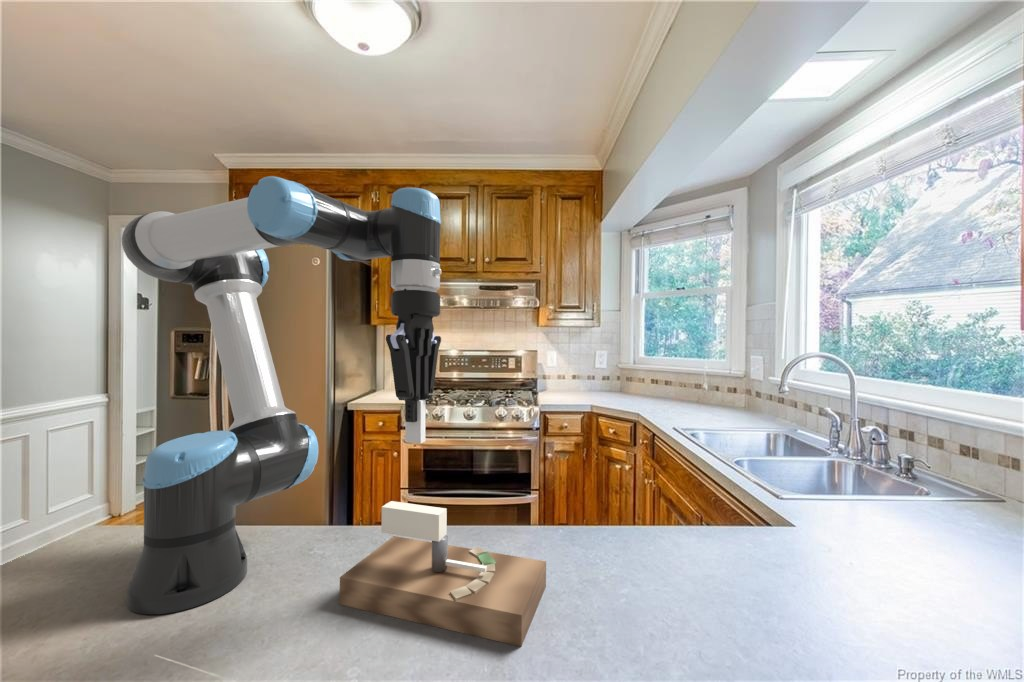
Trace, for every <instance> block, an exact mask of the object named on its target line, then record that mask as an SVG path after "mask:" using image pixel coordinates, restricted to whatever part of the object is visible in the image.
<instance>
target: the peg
mask: <svg viewBox="0 0 1024 682" xmlns="http://www.w3.org/2000/svg"><path fill="white" fill-rule="evenodd" d="M447 510H448V509H447V508H446V507H439V506H438V507H436V506H431V505H430V506H429V505H422V504H415V503H410V502H409V503H408V502H402V501H401V502H400V501H394V500H391V501H389V502H387V503H385V504H384V505H382V506H381V533H384V534H390V535H395V536H400V537H406V538H407V537H408V538H412V539H414V538H415V539H418V540H424V541H425V540H427V541H430V542H432V570H433V571H436V572H441V571H444V570H446V569H447V566H452V567H457V568H463V569H468V570H474V571H479V572H486V571H487V566H483V565H478V564H472V563H466V562H461V561H455V560H449V559H448V545H449V543H448V542H449V541H448V539H449V537H448V535H447V533H448V532H447V530H448V529H447V527H448V526H447V521H448V520H447V518H448V517H447V515H448V514H447V513H448V511H447Z"/></svg>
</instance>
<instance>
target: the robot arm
mask: <svg viewBox="0 0 1024 682" xmlns="http://www.w3.org/2000/svg"><path fill="white" fill-rule="evenodd" d="M440 204H441V203H440V199H439V198H438V196H437V195H436V194H435V193H433V192H431V191H430V190H428V189H424V188H418V187H401V188H398V189H397V190H395V191H394V192H393V193H392V195H391V202H390V206H391V207H389V208H384V209H381V210H380V209H379V210H363V209H361V208H359V207H356V206H354V205H351V204H348V203H346V202H343V201H341V200H338V199H336V198H333V197H330V196H328V195H326V194H324V193H321V192H319V191H317V190H314V189H312V188H310V187H307V186H305V185H303V184H302V183H299V182H296V181H293V180H288V179H286V178H282V177H279V176H275V175H270V176H265V177H263V178H260V179H259V180H258V183H257V184H254V185H253V186H252V188H250V192H249V195H248V197H244V198H239V199H235V200H231V201H226V202H221V203H218V204H214V205H210V206H205V207H200V208H197V209H192V210H189V211H188V210H187V211H184V212H183V211H182V212H180V213H173V212H170V211H163V210H161V211H153V212H149V213H145V214H142V215H139V216H137V217H135V218H134V219H132V220H130V222H129V223H128V224H127V225H125V227H124V230H123V231H122V236H121V246H122V250H123V252H124V254H125V257H126V258H127V259H128V260H129V261H130V262H131V263H132V265H133V266H134V267H135V268H137V269H138V270H140V271H141V272H143V273H144V274H146V275H148V276H150V277H152V278H155V279H158V280H161V281H165V282H171V283H178V284H183V285H190V286H191V287H192V291H193V294H194V298H195V300H196V301H197V302H199V303H202V304H203V305H205V306H206V309H207V313H208V318H209V320H210V325H211V329H212V333H213V337H214V342H215V345H216V350H217V353H218V357H219V362H220V367H221V371H222V374H223V379H224V382H225V388H226V391H227V395H228V399H229V403H230V407H231V412H232V416H233V419H234V420H233V422H232V424H231V425H230V426H229V427H228V429H227V430H211V431H205V432H203V433H202V432H197V433H193V434H188V435H185V436H181V437H177V438H173V439H171V440H168V441H166V442H163V443H161V444H159V445H158V446H156V447H155V448H154V449H152V450H151V451H150V453H148V455H147V456H146V459H145V465H144V472H143V477H142V485H143V547H142V551H141V552H140V556H139V558H138V561H137V563H136V566H135V569H134V571H133V575H132V577H131V579H130V582H129V584H128V587H127V595H126V596H127V597H126V599H127V600H126V604H127V608H128V609H129V611H132V612H134V613H137V614H142V615H164V614H170V613H172V614H173V613H175V612H180V611H185V610H189V609H192V608H196V607H198V606H201V605H205V604H206V603H209V602H211V601H214V600H216V599H219V598H220V597H221V596H224V595H225V594H227V593H228V592H230V591H232V590H233V589H234V588H236V587H237V586H239V585H240V584H241V582H242V581H244V579H245V578H246V576H247V574H248V556H247V553H246V552H245V549H244V547H243V544H242V541H241V538H240V536H239V533H238V531H237V529H236V512H237V511H236V510H237V509H236V508H237V506H240V505H243V504H246V503H249V502H251V501H255V500H257V499H260V498H263V497H266V496H269V495H272V494H275V493H277V492H282V491H283V492H284V491H286V490H287V489H291V488H292V487H293V486H296V485H298V484H301V483H303V482H304V481H305V480H307V479H308V478H309V477H310V476H311V474H312V473H313V472H314V470H315V466H316V465H317V463H318V460H319V459H318V458H319V451H320V450H319V449H320V448H319V442H318V437H317V435H316V434H315V431H314V430H313V429H312V428H310V426H309V425H307V424H304V423H299V421H298V417H297V413H296V412H295V411H294V410H292V409H289V408H287V407H286V406H285V402H284V398H283V394H282V390H281V386H280V383H279V378H278V375H277V371H276V368H275V364H274V361H273V356H272V353H271V350H270V346H269V342H268V337H267V334H266V331H265V326H264V322H263V320H262V319H263V318H262V316H261V311H260V307H259V304H258V303H259V302H258V300H257V298H258V297H259V296H260V295H261V294H262V292H263V288H264V286H265V285H266V283H267V281H268V279H269V275H268V272H269V271H270V263H269V258H268V256H267V253H266V252H265V250H266V249H273V248H277V247H278V248H279V247H285V246H293V245H301V244H302V245H308V246H313V247H317V248H319V249H320V248H321V249H326V250H329V251H331V252H332V253H334V254H335V255H336V257H338V259H341V260H343V261H357V262H363V261H367V260H375V259H382V258H390V257H391V262H390V264H391V265H390V266H391V267H390V287H391V288H392V290H393V289H394V291H392V293H391V294H390V313H391V315H392V316H394V317H397V323H396V326H395V328H396V331H394V333H393V334H387V335H386V336H385V341H386V345H387V347H388V349H389V353H390V354H389V355H390V362H391V370H392V376H393V384H394V390H395V397H396V398H397V399H398V400H399V401H404V403H405V404H404V407H405V408H404V419H405V423H404V425H405V428H404V429H405V431H404V432H405V433H404V438H405V440H404V441H405V443H409V444H411V443H412V444H423V443H425V442H426V423H427V422H426V414H427V413H426V405H427V404H426V403H427V402H426V400H432V398H433V393H434V392H435V391H434V390H435V382H436V372H437V363H438V356H439V348H440V345H441V342H442V337H441V336H439V335H435V333H434V324H433V318H437V317H439V316H440V314H441V294H440V293H439V292H437V291H439V290H440V289H441V274H442V271H443V270H442V269H441V259H440V258H441V233H442V232H441V231H442V230H441V229H442V227H441V226H442V220H441V205H440Z"/></svg>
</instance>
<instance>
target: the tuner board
mask: <svg viewBox="0 0 1024 682" xmlns="http://www.w3.org/2000/svg"><path fill="white" fill-rule="evenodd" d="M448 559H449V560H455V561H461V562H466V563H472V564H478V565H483V566H487V571H486V572H479V571H474V570H468V569H463V568H457V567H452V566H447V569H446V570H444V571H441V572H436V571H433V570H432V541H428V540H427V541H425V540H422V539H416V538H415V539H414V538H410V537H408V538H407V537H404V536H398V535H395V536H394V535H393V536H391V537H390V538H389V539H388V540H387V541H385V542H384V543H383V544H381V545H380V546H378V547H377V548H376V549H375V550H374V551H372V552H370V554H369V555H367V556H365V558H363V559H361V560H360V561H358V563H356V564H355V565H354V566H352V567H351V568H350V569H349V570H347V571H346V572H344V573H343V574H342V575H341V576H339V605H341V606H345V607H350V608H354V609H358V610H363V611H367V612H372V613H375V614H378V615H379V614H381V615H384V616H388V617H393V618H398V619H402V620H404V621H410V622H415V623H418V624H423V625H427V626H432V627H436V628H439V629H445V630H448V631H453V632H458V633H461V634H466V635H470V636H473V637H479V638H483V639H488V640H491V641H495V642H496V641H497V642H500V643H505V644H508V645H512V646H518V647H522V646H523V644H524V641H525V639H526V637H527V634H528V631H529V630H530V626H531V624H532V622H533V620H534V617H535V614H536V612H537V609H538V607H539V604H540V603H541V599H542V597H543V595H544V592H545V589H546V588H547V561H546V560H540V559H533V558H527V557H522V556H517V555H511V554H510V555H509V554H505V553H498V552H492V551H487V550H485V549H483V548H481V547H480V546H477V547H475V548H468V547H462V546H456V545H455V546H454V545H451V544H450V545H449V544H448Z"/></svg>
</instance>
